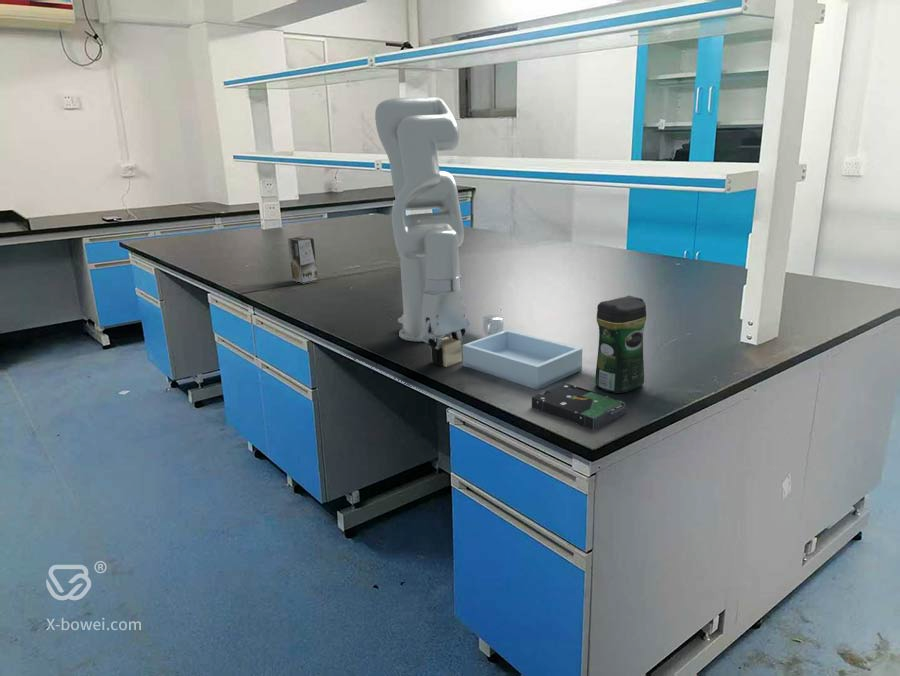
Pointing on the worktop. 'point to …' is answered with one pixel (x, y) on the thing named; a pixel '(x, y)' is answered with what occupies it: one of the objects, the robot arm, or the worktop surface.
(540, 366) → the tray
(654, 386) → the worktop surface
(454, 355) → the wooden cube
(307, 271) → the coffee box
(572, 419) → the disk drive
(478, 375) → the worktop surface
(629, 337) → the coffee jar
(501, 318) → the aluminium cylinder
